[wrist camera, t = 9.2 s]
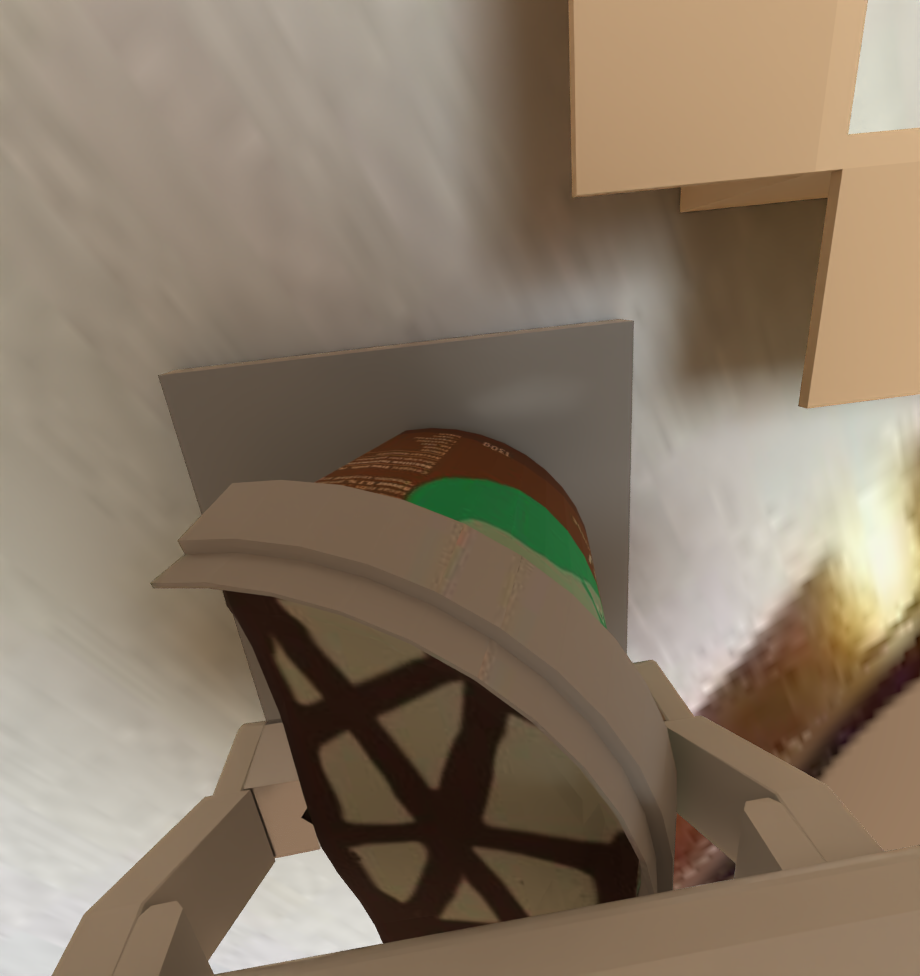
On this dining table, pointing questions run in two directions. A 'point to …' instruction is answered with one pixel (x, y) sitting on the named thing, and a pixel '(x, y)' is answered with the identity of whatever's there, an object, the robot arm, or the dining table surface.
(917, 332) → the carton
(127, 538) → the dining table surface
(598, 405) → the slate board
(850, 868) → the robot arm
